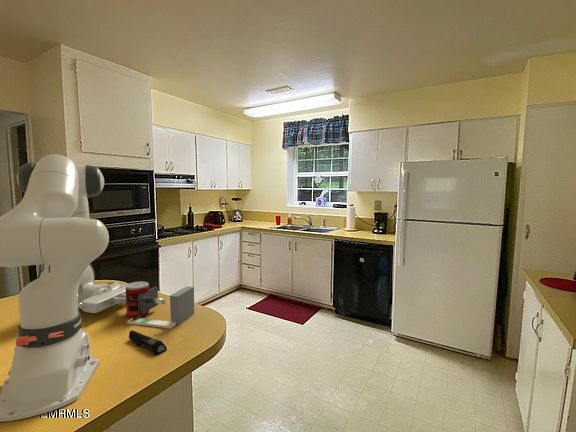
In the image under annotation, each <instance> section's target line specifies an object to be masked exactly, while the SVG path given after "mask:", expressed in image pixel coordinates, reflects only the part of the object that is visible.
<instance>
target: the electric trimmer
mask: <svg viewBox="0 0 576 432" xmlns="http://www.w3.org/2000/svg"><path fill="white" fill-rule="evenodd" d="M128 339H129V340H130V341H131V342H132V343H134V344H135V345H136V346H138V347H144V348H146V349H148V350H150V351H152V353H153V355H154V356H160V355H162V354H164V353H165V352H167V351H168V349H167V348H168V347H167V346H166V344H165V343H164V342H163V341H161V340H159V339H156V338H153V337H151V336H147V335H145V334H143V333H140V332H138V331H135V330H133V329H132V330H130V331H129V333H128Z"/></svg>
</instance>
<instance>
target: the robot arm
mask: <svg viewBox="0 0 576 432" xmlns="http://www.w3.org/2000/svg"><path fill="white" fill-rule="evenodd" d="M16 182H17V184H18V187H19V189H20V191H21V192H23V193H24V195H23V198H22V199H21V201H20V202H19V203H18V204H17V205H15V206H14V207H13V208H12V209H10V210H9V211H7V212H5V214H3V215H0V268H1V267H2V268H15V267H25V266H36V265H37V266H38V274H37V278H36V279H34V280H32V281H31V282H29V283H28V284H27V285H25V286H24V287H23V288H22V289H21V291H20V292H19V294H18V298H17V300H18V314H19V325H18V327H17V333H16V339H15V346H14V347H13V357H12V363H11V367H10V369H9V371H8V376H9V377H7V378H6V379H4V381H3V383H2V387H1V390H0V422H3V423H4V422H13V421H17V420H22V419H27V418H32V417H35V416H39V415H42V414H46V413H48V412H49V413H50V412H52V411H55V410H57V409H60V408H63V407H64V406H67V405H69V404H71V403H73V402H75V401H76V400H78V399H79V398H80V396H81V394H82V393H83V391H84V390H85V388H86V386H87V385H88V384H89V381H90V380H91V378H92V377H93V374H94V373H95V372H96V370H97V368H98V367H99V365H100V360H99V358H96V357H92V349H91V341H90V334H88V333H87V331H84V330H83V329H82V316H81V312H80V311H79V309H81V310H82V312H85V313H89V314H96V313H99V312H102V311H104V310H106V309H107V308H110V307H112V306H114V305H116V304H118V305H119V304H126V285H127V284H126V283H118V281H114V282H109V283H99V284H98V283H97V284H95V281H96V278H95V275H96V274H95V269H94V267H93V265H92V264H91V263H92V262H93V261H95V260H96V259H97V258H99V257H100V256H101V255H103V253H104V252H105V250H106V249H107V247H108V246H109V241H110V235H109V231H108V228H107V227H106V225H105V224H104V223H103V222H102V221H101V220H99V219H95V218H90V207H89V201H88V198H89V199H90V198H93V197H96V196H99V195H100V194H101V193H102V192H103V191H102V190H103V189H104V186H105V178H104V175H103V173H102V172H101V170H100V169H99V168H98V167H97V166H93V165H89V164H86V165H82V164H76V163H75V162H74V161H73V160H72V159H71V158H69V157H67V156H66V155H62V154H57V153H53V154H48V155H44V156H43V157H41V158H40V159H39V160H38V161H34V162H26V163H23V164H22V165H21V166H20V167H19V168H18V172H17V174H16Z"/></svg>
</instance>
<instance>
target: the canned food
mask: <svg viewBox="0 0 576 432" xmlns="http://www.w3.org/2000/svg"><path fill="white" fill-rule="evenodd" d="M149 289H150V284H149V282H148V281H142V280H141V281H133V282H129V283H128V284H127V285H126V303H125V304H126V305H125V306H126V308H125V309H126V314H127V316H128V317H130V318H133V317H135V316H137V315H138V314H139V311H138V295H139V294H141V293H143V292H145V291H147V290H149ZM149 313H150V310H148V311H147V312H145V313H143V314H141V317H143V316H146V315H147V314H149Z"/></svg>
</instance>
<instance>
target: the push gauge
mask: <svg viewBox="0 0 576 432" xmlns="http://www.w3.org/2000/svg"><path fill="white" fill-rule="evenodd" d="M169 303H170V305H169V306H170V310H169V311H170V321H167V320H159V319H151V318H141V317H139V318H138V319H136V320H133V317H130V319H128V320H127V321H126V324H131V325H137V326H138V325H139V326H145V327H146V326H148V327H155V328H162V329H163V328H164V329H173V327H175V326H176V325H177V326H179V325H180V324H182V323H184V322H185V321H186V320H187V319H188V317H189V316H190V317H191V316H193V315H194V314H195V287H194V286H185V287H182V288H181V289H179V290H177V291H176V292H174V293H173V294H171V295H169ZM193 313H194V314H193ZM192 314H193V315H192ZM190 317H189V318H190ZM184 320H185V321H184Z"/></svg>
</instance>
